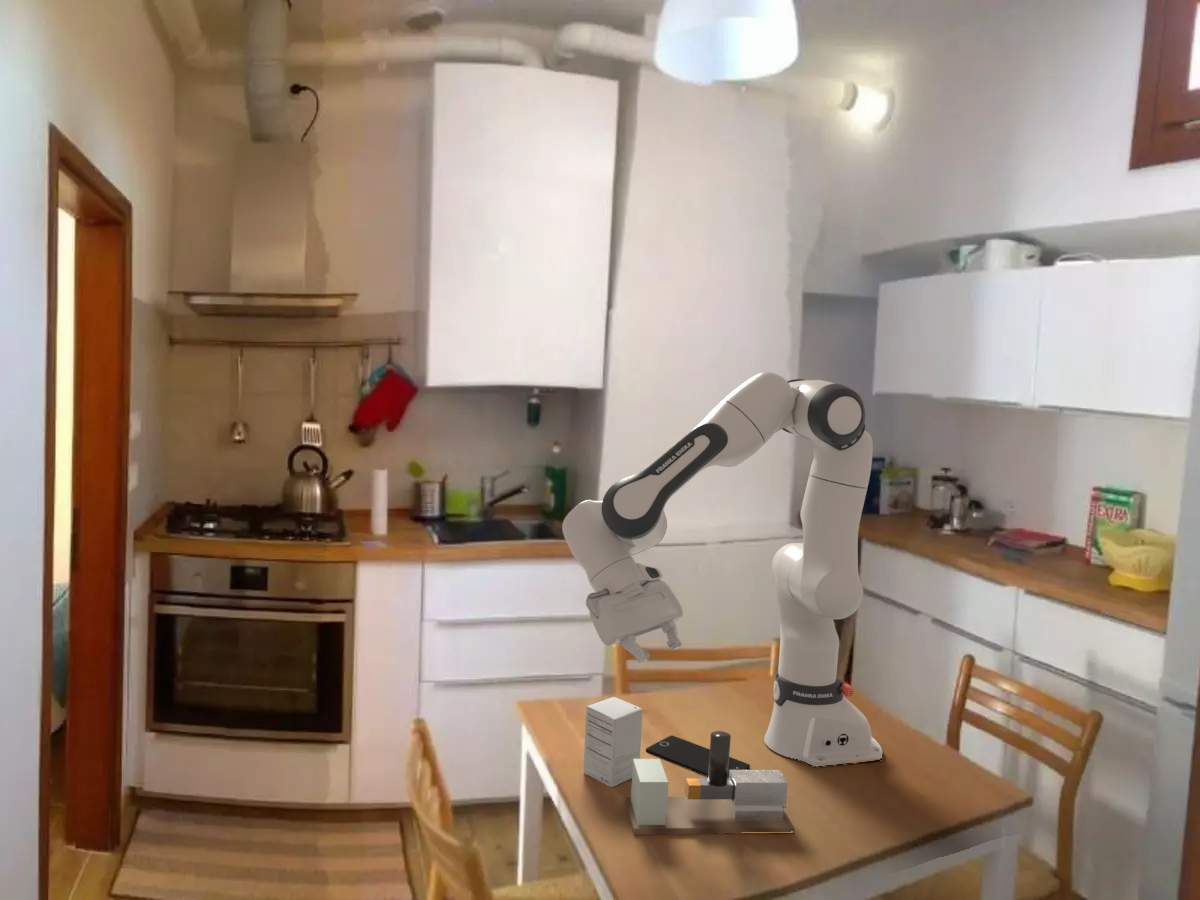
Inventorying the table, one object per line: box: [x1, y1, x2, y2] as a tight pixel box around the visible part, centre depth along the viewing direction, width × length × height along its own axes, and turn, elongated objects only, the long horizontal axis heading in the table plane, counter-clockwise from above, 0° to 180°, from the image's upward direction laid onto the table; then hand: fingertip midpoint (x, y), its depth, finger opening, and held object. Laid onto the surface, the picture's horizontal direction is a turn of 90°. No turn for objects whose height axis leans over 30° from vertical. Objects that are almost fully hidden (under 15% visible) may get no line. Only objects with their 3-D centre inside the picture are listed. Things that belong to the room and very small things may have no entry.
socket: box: [630, 758, 669, 825], centre depth 150 cm, size 4×8×7 cm, turn 6°
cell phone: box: [645, 735, 751, 778], centre depth 172 cm, size 9×18×1 cm, turn 51°
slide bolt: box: [684, 730, 735, 799], centre depth 151 cm, size 15×3×10 cm, turn 96°
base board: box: [625, 796, 795, 835], centre depth 151 cm, size 26×10×1 cm, turn 96°
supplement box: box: [583, 696, 643, 788], centre depth 164 cm, size 7×7×13 cm
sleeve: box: [726, 769, 789, 821], centre depth 152 cm, size 9×6×6 cm
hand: (661, 654), depth 156 cm, fingers open, 8 cm apart
